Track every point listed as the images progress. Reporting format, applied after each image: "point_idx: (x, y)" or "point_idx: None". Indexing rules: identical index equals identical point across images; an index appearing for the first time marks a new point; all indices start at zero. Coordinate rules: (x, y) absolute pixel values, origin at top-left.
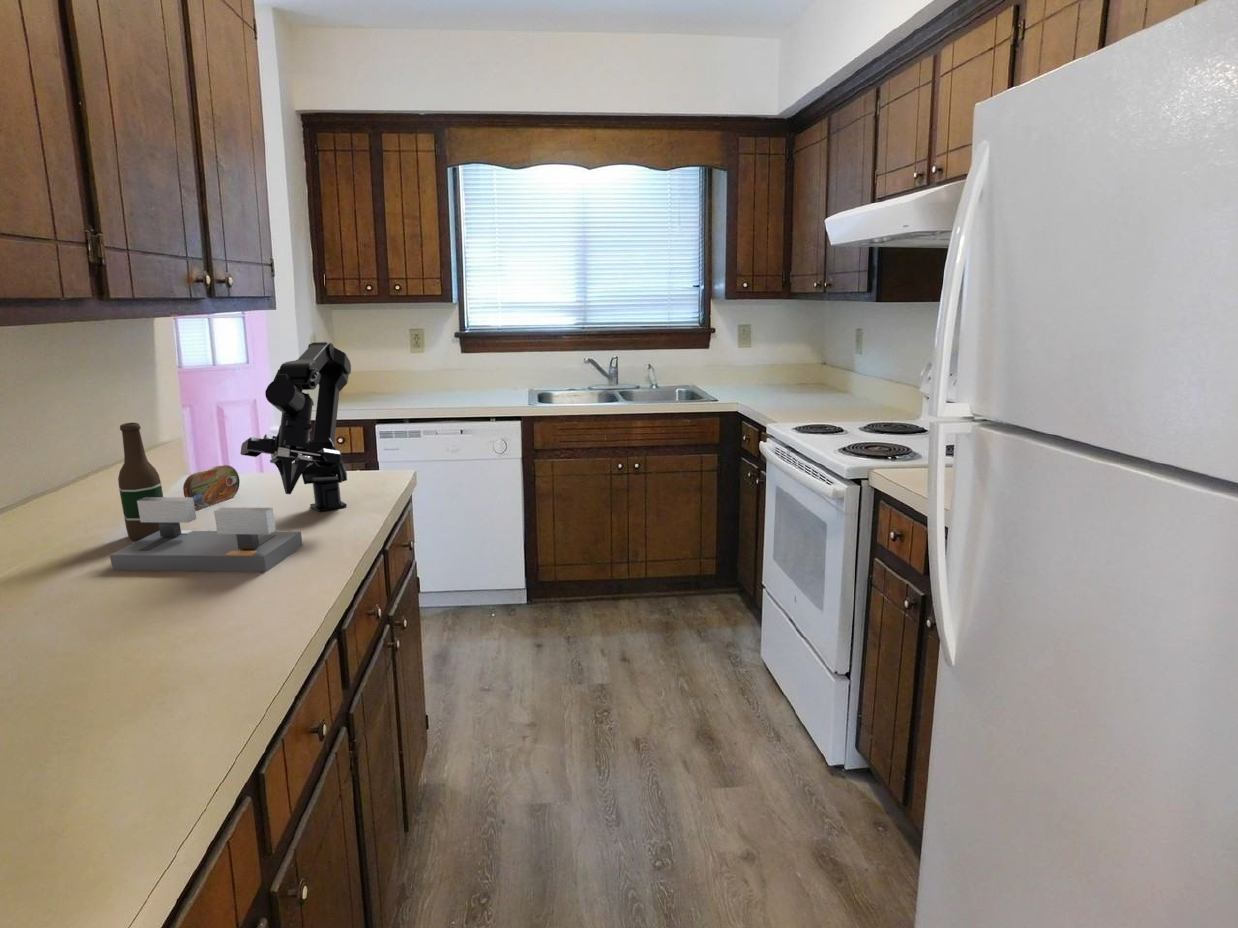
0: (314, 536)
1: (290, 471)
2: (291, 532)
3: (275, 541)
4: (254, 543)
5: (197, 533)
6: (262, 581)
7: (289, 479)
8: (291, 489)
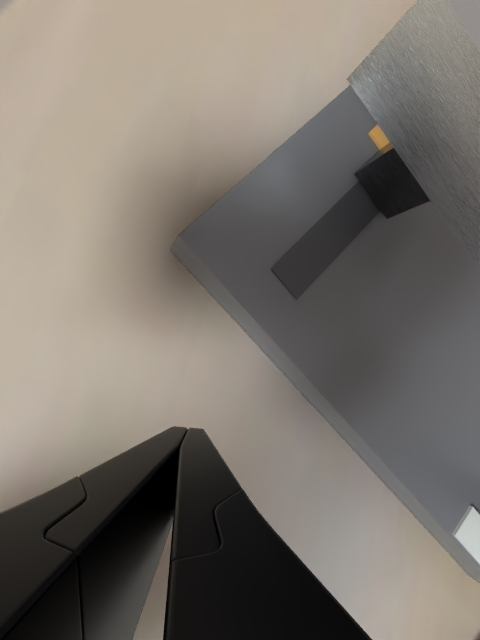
0: (86, 334)
1: (189, 520)
2: (212, 257)
3: (293, 193)
4: (383, 148)
5: (447, 496)
6: (358, 44)
7: (193, 472)
8: (171, 433)
